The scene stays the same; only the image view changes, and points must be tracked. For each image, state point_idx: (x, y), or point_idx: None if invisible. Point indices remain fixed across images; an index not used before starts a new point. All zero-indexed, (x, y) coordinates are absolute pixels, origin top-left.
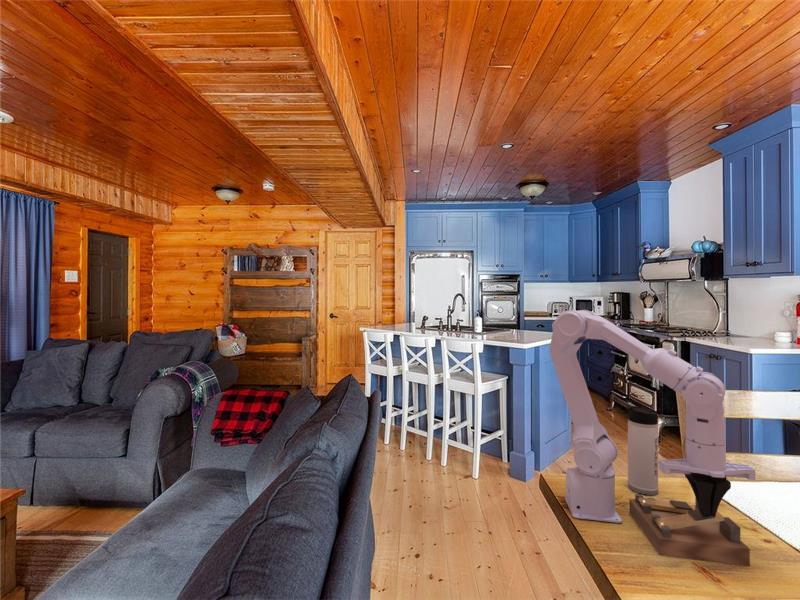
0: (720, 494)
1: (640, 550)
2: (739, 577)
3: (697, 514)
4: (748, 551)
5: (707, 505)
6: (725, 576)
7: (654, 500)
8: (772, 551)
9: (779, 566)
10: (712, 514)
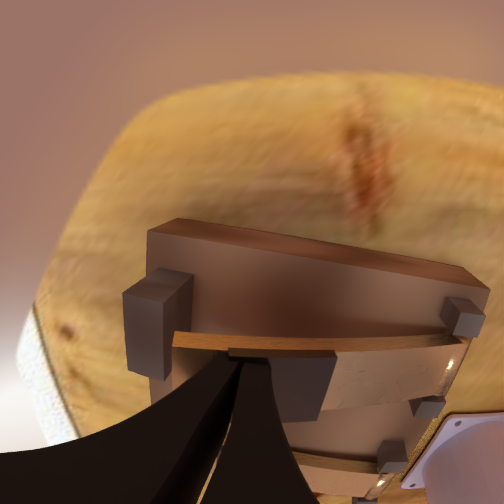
0: (118, 450)
1: (498, 289)
2: (259, 153)
3: (297, 389)
4: (157, 228)
5: (258, 406)
6: (309, 155)
7: (330, 489)
8: (75, 291)
9: (94, 225)
10: (230, 363)
